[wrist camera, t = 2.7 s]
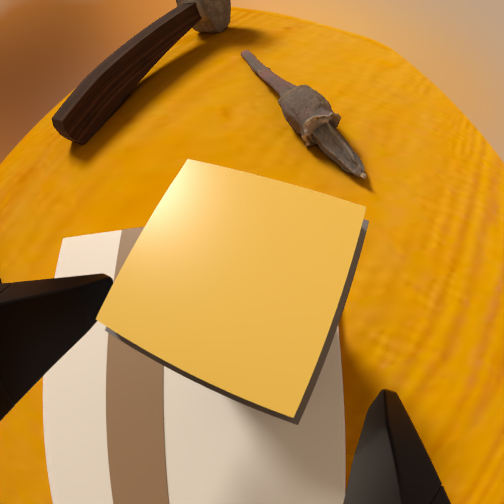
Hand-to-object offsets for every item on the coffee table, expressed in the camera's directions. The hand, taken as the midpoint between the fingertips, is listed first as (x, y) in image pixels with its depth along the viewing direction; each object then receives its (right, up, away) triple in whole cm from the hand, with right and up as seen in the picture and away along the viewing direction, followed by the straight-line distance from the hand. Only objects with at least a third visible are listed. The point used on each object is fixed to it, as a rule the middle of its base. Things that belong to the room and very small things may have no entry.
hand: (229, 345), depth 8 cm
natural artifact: (+4, +17, +18) cm, 25 cm away
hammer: (-11, +26, +24) cm, 37 cm away
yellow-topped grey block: (+1, -2, +8) cm, 8 cm away
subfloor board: (-4, -8, +7) cm, 11 cm away
